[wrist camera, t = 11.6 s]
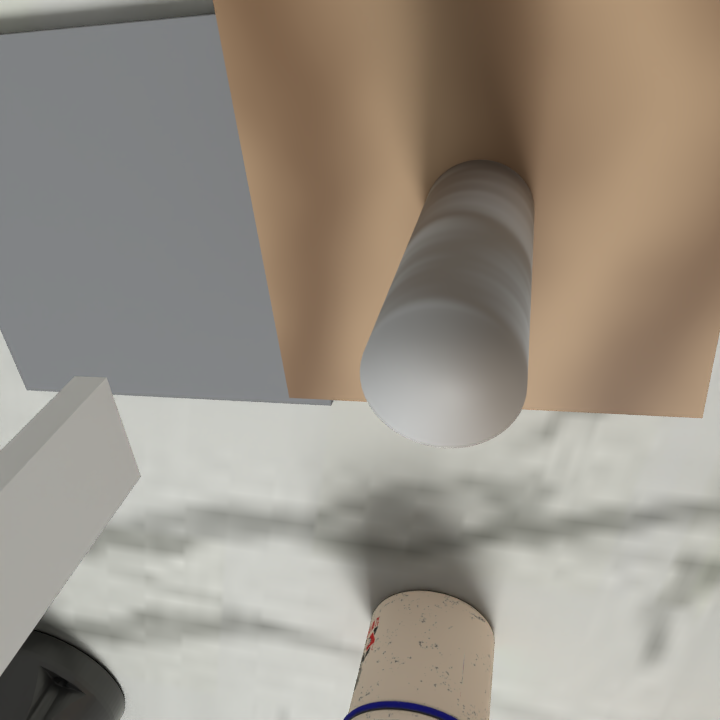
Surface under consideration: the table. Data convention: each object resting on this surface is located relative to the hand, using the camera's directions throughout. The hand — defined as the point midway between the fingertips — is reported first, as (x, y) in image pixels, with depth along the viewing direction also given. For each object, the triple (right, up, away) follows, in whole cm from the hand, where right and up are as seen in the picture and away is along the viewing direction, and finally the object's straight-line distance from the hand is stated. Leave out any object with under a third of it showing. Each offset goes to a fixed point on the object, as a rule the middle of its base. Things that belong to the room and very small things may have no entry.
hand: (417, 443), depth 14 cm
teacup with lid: (+4, -18, +36) cm, 40 cm away
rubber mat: (-13, +8, +23) cm, 28 cm away
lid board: (+3, +7, +10) cm, 13 cm away
